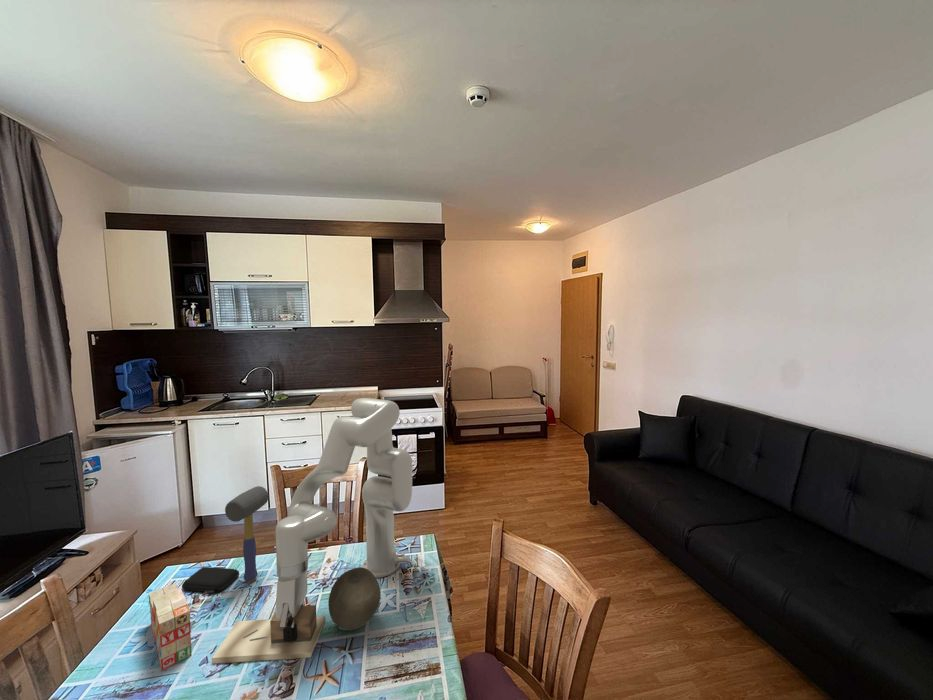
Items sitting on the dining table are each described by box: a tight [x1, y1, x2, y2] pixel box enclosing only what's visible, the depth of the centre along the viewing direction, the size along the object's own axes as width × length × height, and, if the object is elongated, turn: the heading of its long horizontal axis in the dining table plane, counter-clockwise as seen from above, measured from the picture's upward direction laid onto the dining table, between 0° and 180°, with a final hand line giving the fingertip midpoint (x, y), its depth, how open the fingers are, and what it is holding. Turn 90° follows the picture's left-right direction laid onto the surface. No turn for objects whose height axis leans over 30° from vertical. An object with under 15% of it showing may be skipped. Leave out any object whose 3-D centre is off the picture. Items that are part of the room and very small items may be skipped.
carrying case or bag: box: [181, 566, 240, 595], centre depth 125 cm, size 11×3×15 cm
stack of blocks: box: [148, 583, 193, 671], centre depth 102 cm, size 21×6×12 cm, turn 45°
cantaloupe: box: [327, 566, 382, 631], centre depth 107 cm, size 14×14×15 cm
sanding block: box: [270, 604, 317, 643], centre depth 102 cm, size 10×5×6 cm, turn 94°
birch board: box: [211, 615, 326, 665], centre depth 102 cm, size 24×12×2 cm, turn 94°
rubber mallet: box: [224, 485, 270, 583], centre depth 126 cm, size 12×8×30 cm, turn 170°
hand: (294, 630), depth 102 cm, fingers closed on sanding block, 5 cm apart
